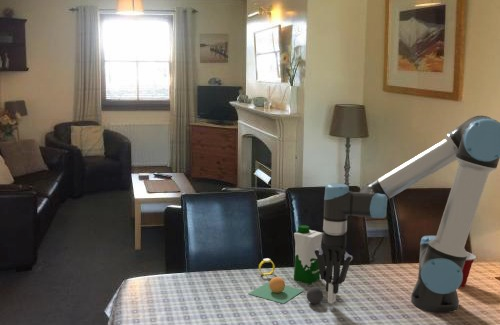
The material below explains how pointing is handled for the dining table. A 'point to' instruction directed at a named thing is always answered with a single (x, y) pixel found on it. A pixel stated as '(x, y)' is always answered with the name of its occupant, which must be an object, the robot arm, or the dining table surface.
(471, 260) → the plastic cup
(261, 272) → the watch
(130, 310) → the dining table surface
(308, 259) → the milk carton
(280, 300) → the green mark
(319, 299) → the cue ball black
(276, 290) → the ball orange
